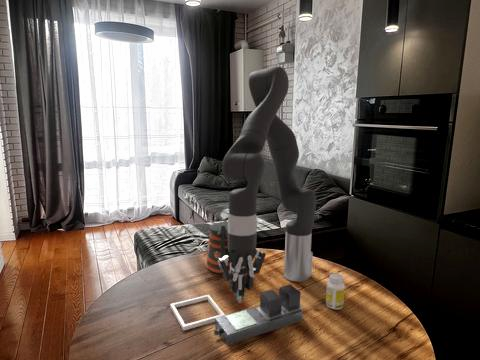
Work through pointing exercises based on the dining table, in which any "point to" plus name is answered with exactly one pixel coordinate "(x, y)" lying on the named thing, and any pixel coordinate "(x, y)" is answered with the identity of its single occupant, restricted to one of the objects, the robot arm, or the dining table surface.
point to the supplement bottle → (335, 292)
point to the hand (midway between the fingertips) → (241, 290)
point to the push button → (241, 283)
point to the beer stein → (217, 246)
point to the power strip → (262, 315)
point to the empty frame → (200, 322)
